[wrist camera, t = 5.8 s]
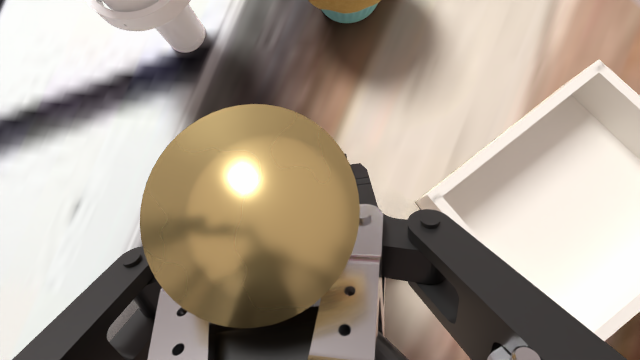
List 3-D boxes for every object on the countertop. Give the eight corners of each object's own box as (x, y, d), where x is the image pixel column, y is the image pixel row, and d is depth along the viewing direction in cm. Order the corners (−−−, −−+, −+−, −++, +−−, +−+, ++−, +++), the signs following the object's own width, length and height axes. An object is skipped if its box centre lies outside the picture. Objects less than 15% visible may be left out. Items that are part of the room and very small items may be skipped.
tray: (535, 344, 20) (574, 366, 17) (414, 201, 22) (427, 194, 19) (694, 212, 21) (763, 207, 17) (561, 86, 23) (598, 59, 19)
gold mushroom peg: (303, 286, 19) (218, 380, 6) (259, 223, 20) (101, 190, 7) (366, 237, 19) (407, 229, 6) (318, 177, 20) (272, 64, 7)
